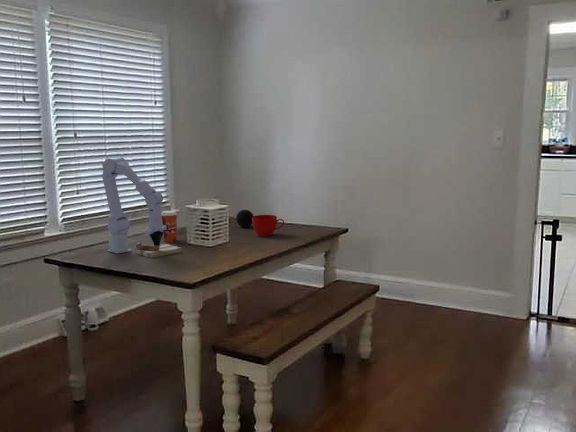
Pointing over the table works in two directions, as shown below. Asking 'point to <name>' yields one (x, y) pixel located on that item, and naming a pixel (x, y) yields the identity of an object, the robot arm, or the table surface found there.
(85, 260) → the table surface
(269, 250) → the table surface
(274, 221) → the ceramic cup
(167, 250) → the cream flat block
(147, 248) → the folding leg
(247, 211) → the decorative ball
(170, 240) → the coffee cup
